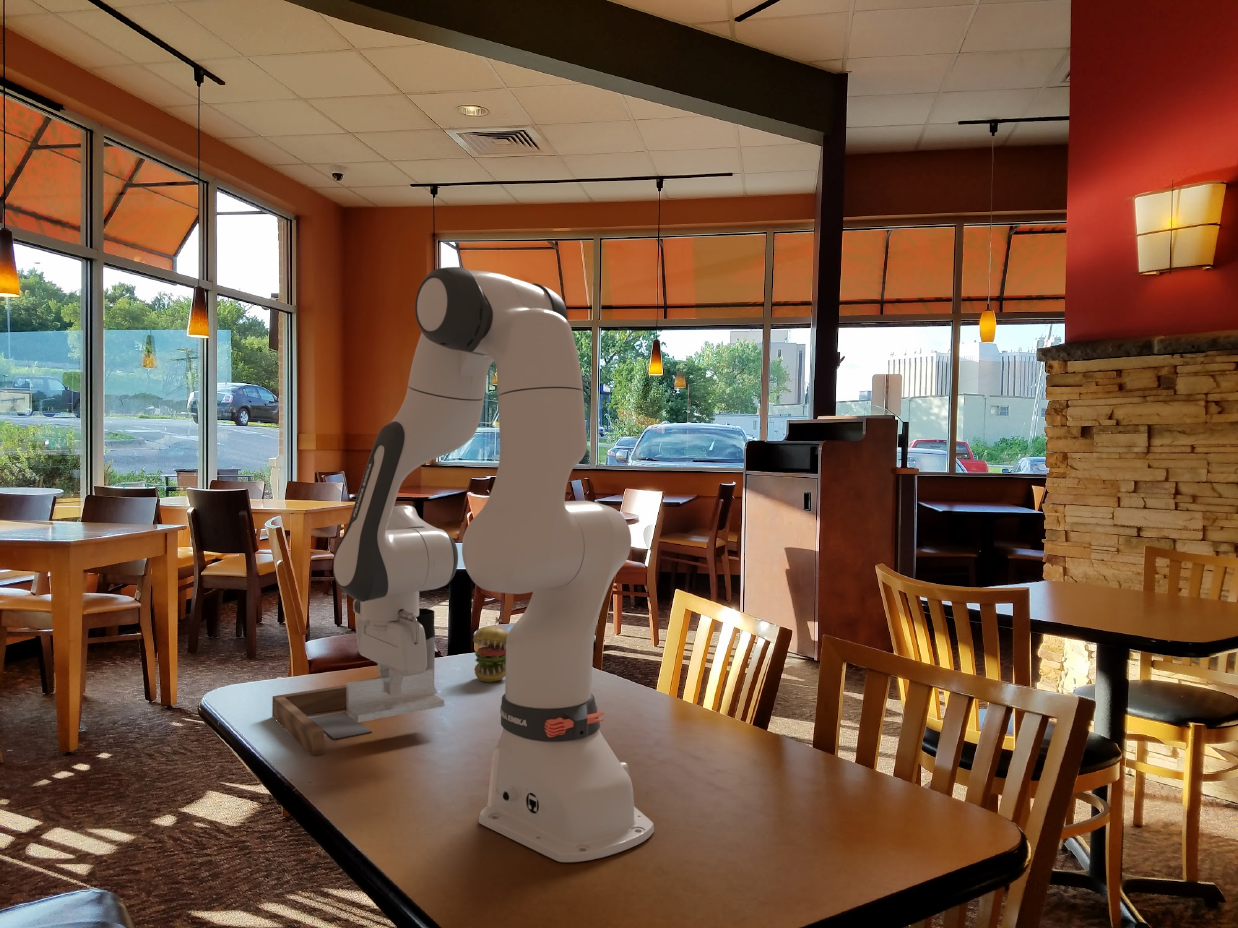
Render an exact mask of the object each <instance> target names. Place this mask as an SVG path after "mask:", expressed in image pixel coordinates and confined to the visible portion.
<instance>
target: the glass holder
mask: <svg viewBox="0 0 1238 928" xmlns="http://www.w3.org/2000/svg"><path fill="white" fill-rule="evenodd" d="M416 619H417V621H418V622H419V623H420V624H421V625H422V626H423V628H424V632H425V639H426V651H427V668H426V670H427V669H432V670H433V687H434V695H435V694H437V688H436V687H435V686H436V685H435V663H436V662H435V656H436V655H435V653H436V650H435V648H436V630H435V610H433V609H429V608H420V607H419V616H418V617H416Z"/></svg>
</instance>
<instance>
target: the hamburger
mask: <svg viewBox="0 0 1238 928" xmlns="http://www.w3.org/2000/svg"><path fill="white" fill-rule="evenodd" d="M494 622H495V623H494V625H495V626H484V627H482V628H480V629H478V630H477V631H476V632H475V633H474V635H473V639H472V640H473V643H475V644H477V646H478V647H477V648H478V649H477V651H476V652H475V656H476V658H475V660H474V662H475V661H476V663H477V664H476V665H474V674H475V676H476V678H477V679H479V681H482V682H485V683H494V682H498V681H501V680H502V679H503V678H504V679H505V673H506V641H507V637H508V634H509V631H507V630H505V629H503V628H501V627H497V626H496V624H498V623H500V622H503V619H501V618H499V617H498V616H495V621H494ZM480 646H481V647H480Z"/></svg>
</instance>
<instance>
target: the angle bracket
mask: <svg viewBox="0 0 1238 928" xmlns="http://www.w3.org/2000/svg"><path fill="white" fill-rule="evenodd" d="M389 680H390V675H389V676H383V677H380V676H378V677H372V678H366V679H359V680H353V681H347V682H346V683H345V685H346V707H345V708H346V711H345V712H346V715H348V716H349V717H351V718H352V719H353V720H355V721H356V722H360V723H362V722H369V721H373V720H379V719H384V718H389V717H394V716H400V715H404V714H405V715H406V714H411V713H416V712H420V711H425V710H426V711H427V710H431V709H436V708H442V707H445V699H443V698H442V697H439V696H437V695H435V694H434V687H433V670H432V669H427V670H425V672H424V673H423V674H418V675H412V676H404V678H403V681H402V684H401V694H400V695H397V696H391V695H389V694H388V693H387V684H388V683H389Z"/></svg>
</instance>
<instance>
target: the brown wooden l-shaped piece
mask: <svg viewBox="0 0 1238 928" xmlns="http://www.w3.org/2000/svg"><path fill="white" fill-rule="evenodd" d="M271 701H272V702H271V703H272V704H271V705H272V706H271V707H272V709H271V710H272V711H271V712H272V713H271V714H272V715H271V717H272V718H273V717H274V718H273V720H275V721H276V720H277V721H276V722H277V723H278V724H279V723H280V724H279V725H280V726H281V725H282V726H281V727H282V728H283V729H284V730H285V731H286V730H287V731H286V732H287V733H288V734H289V733H290V734H289V735H291V736H292V737H293V739H295V741H297V742H298V743H299V744H300V745H301V746H302V747H303V748H304V749H306V750H307V752H308V753H309V754H311V756H312V757H314V756H319V755H324V750H325V749H324V748H325V747H324V743H325V742H324V738H325V737H324V736H325V734H326V733H327V734H326V735H327V736H329V737H330V738H331V739H332V740H334V741H335V740H340V739H341V740H342V739H345V738H353V737H356V736H361V735H367V734H370V733H373V732H372V730H371V729H369V728H368V727H366V726H365V725H364V724H363V723H362V722H356V721H355V720H353V719H352V718H351V717H349V716H348V715H346V711H342V712H335V713H331V714H324V715H319V716H314V717H308V716H307V715H309V714H313V713H314V712H315V713H321V712H326V711H325V710H327V711H332V710H339V709H345V708H346V684H343V685H337V686H330V687H329V686H328V687H325V688H324V687H323V688H317V689H310V690H304V691H299V692H298V691H297V692H291V693H285V694H279V695H278V694H277V695H273V696H272V700H271ZM344 707H345V708H344ZM315 713H314V714H315Z"/></svg>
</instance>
